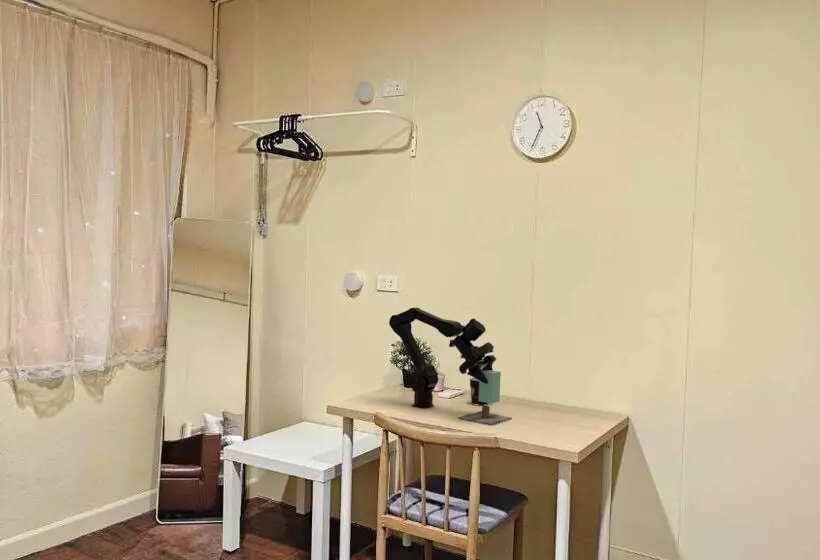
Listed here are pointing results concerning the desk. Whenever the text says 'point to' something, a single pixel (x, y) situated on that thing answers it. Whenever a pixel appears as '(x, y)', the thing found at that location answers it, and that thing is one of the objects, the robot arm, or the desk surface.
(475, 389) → the coffee mug
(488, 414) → the flat grey base tile
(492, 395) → the teal rectangular pillar
